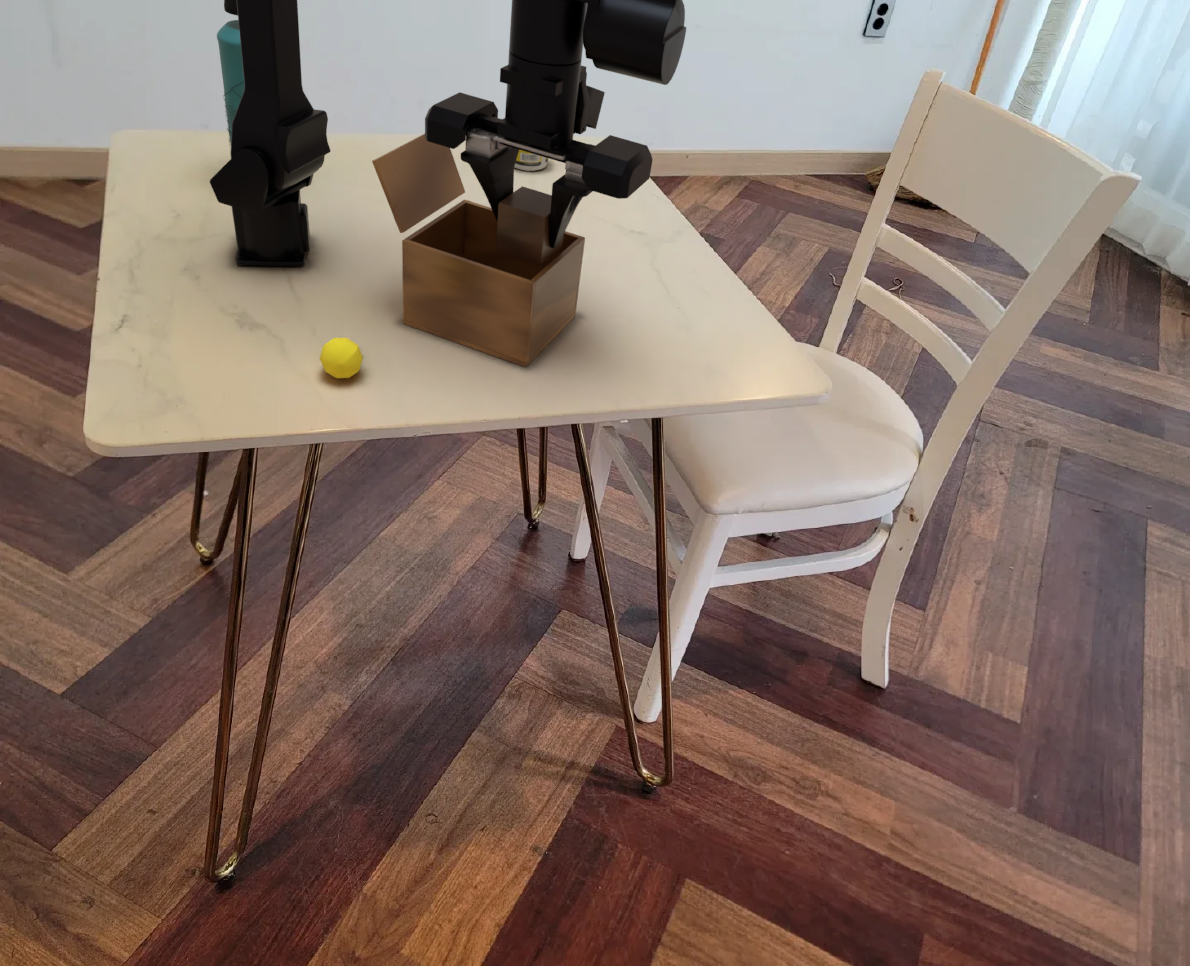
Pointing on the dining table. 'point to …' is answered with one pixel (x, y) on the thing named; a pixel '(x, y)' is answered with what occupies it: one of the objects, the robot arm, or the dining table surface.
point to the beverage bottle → (231, 63)
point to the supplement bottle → (530, 161)
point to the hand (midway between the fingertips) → (529, 238)
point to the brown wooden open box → (487, 286)
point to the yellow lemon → (341, 357)
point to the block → (525, 226)
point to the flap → (418, 180)
